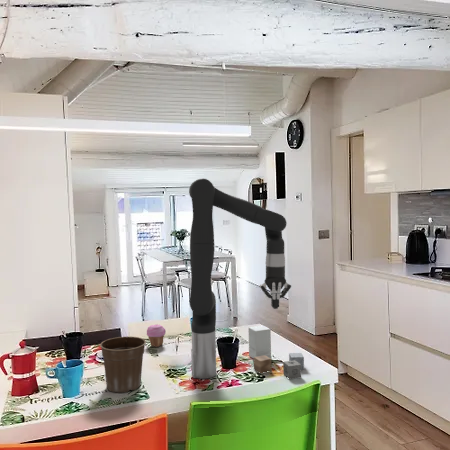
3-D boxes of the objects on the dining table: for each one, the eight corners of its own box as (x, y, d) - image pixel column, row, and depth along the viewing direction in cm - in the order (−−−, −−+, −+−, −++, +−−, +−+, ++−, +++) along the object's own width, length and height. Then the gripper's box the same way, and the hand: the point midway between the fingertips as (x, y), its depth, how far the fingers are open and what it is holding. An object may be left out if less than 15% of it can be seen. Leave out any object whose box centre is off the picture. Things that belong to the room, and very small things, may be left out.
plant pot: (150, 377, 168) (149, 335, 168) (142, 395, 152) (141, 349, 152) (108, 378, 168) (106, 336, 168) (95, 396, 152) (94, 350, 152)
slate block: (291, 369, 173) (291, 357, 173) (289, 365, 178) (289, 353, 178) (303, 369, 173) (303, 357, 173) (301, 365, 178) (301, 352, 178)
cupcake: (160, 349, 201) (159, 327, 201) (143, 347, 204) (143, 326, 204) (168, 343, 210) (168, 322, 209) (152, 342, 213) (151, 321, 212)
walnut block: (260, 373, 170) (260, 361, 170) (254, 369, 174) (253, 357, 174) (271, 371, 172) (271, 358, 172) (264, 367, 177) (264, 355, 176)
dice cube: (295, 373, 170) (295, 360, 170) (301, 377, 165) (300, 364, 165) (283, 374, 169) (283, 361, 168) (288, 379, 164) (288, 366, 164)
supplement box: (271, 358, 186) (271, 329, 186) (255, 361, 184) (255, 331, 183) (263, 353, 193) (263, 324, 193) (248, 355, 191) (247, 326, 190)
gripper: (261, 266, 168) (261, 311, 168) (294, 265, 170) (294, 309, 171) (256, 263, 175) (256, 307, 176) (288, 263, 177) (288, 305, 178)
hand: (275, 308), depth 173 cm, fingers closed
